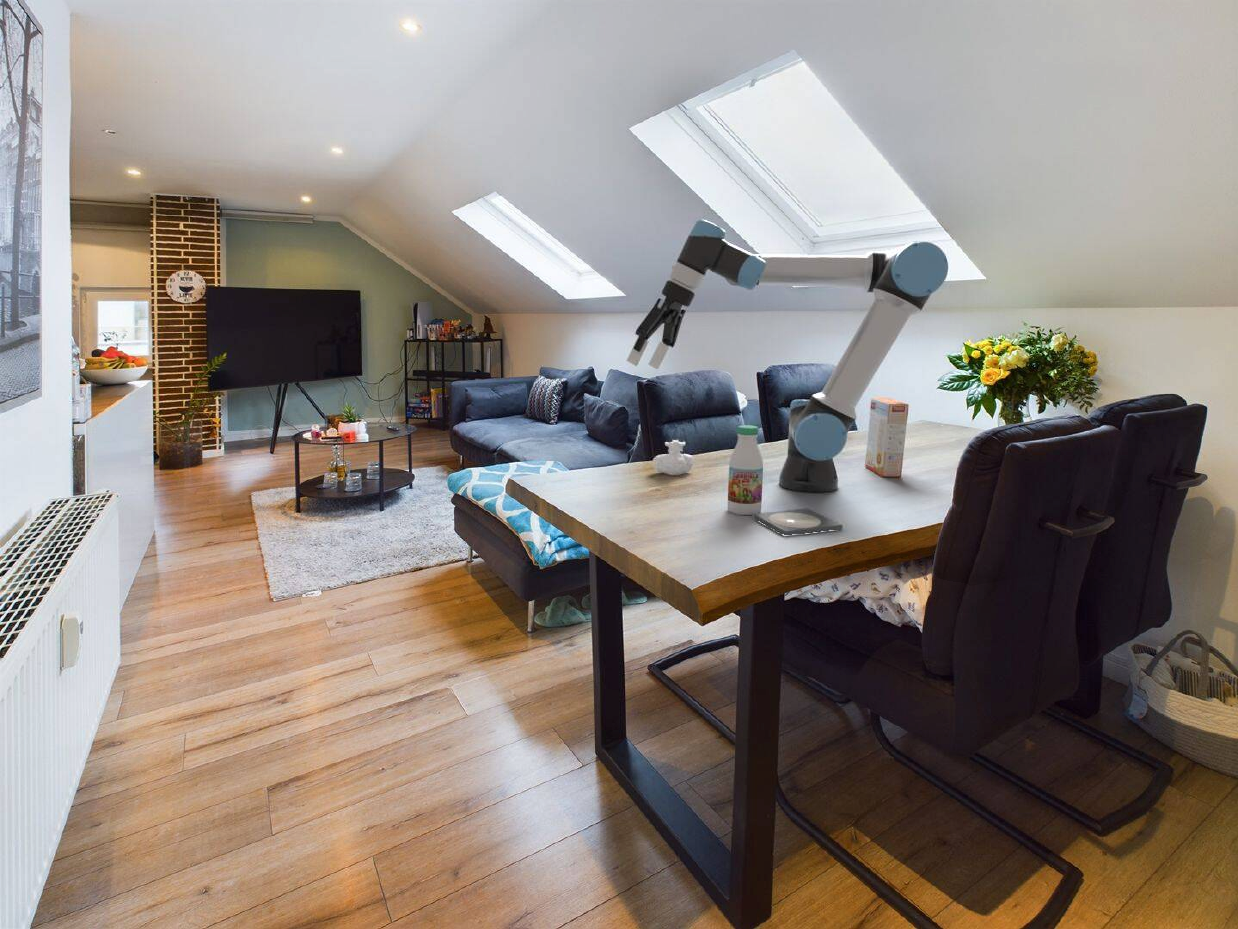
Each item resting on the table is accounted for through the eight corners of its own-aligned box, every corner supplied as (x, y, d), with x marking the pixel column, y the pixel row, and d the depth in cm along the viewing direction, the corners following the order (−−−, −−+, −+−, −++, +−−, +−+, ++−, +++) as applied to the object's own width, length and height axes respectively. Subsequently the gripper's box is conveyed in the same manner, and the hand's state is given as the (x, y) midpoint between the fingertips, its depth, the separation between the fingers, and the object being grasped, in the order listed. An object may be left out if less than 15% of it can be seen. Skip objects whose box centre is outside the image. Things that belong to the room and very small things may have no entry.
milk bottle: (723, 507, 161) (727, 423, 157) (755, 506, 162) (759, 423, 157) (731, 516, 153) (735, 429, 149) (765, 515, 154) (769, 429, 150)
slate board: (807, 513, 156) (807, 507, 156) (842, 530, 144) (842, 524, 144) (753, 518, 152) (753, 513, 151) (784, 536, 140) (785, 530, 139)
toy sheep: (653, 482, 193) (656, 456, 184) (650, 461, 198) (654, 436, 189) (694, 481, 194) (700, 456, 185) (691, 461, 199) (696, 435, 190)
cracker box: (902, 477, 190) (910, 403, 185) (881, 477, 190) (887, 403, 185) (884, 466, 204) (890, 397, 199) (864, 466, 204) (870, 397, 199)
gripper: (686, 287, 175) (649, 361, 181) (649, 269, 152) (608, 354, 158) (710, 300, 172) (672, 374, 178) (677, 282, 150) (634, 369, 155)
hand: (642, 365), depth 168 cm, fingers open, 13 cm apart
